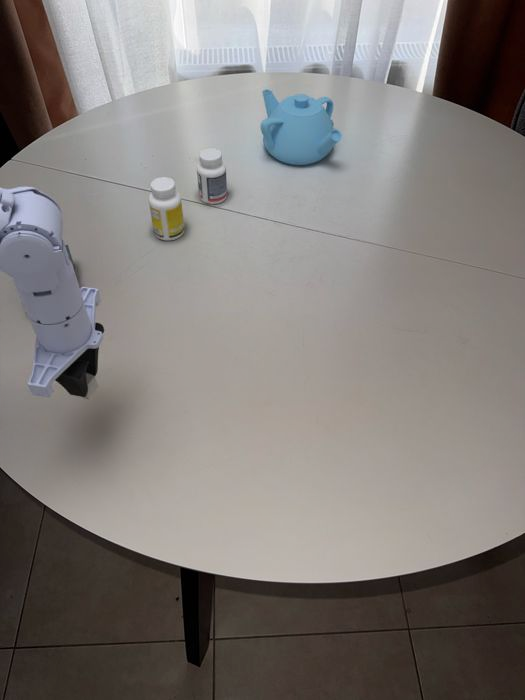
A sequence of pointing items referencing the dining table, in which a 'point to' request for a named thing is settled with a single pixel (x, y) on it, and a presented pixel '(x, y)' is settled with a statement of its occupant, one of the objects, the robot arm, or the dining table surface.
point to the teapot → (298, 128)
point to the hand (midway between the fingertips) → (83, 383)
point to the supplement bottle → (166, 209)
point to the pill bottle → (211, 176)
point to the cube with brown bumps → (91, 385)
